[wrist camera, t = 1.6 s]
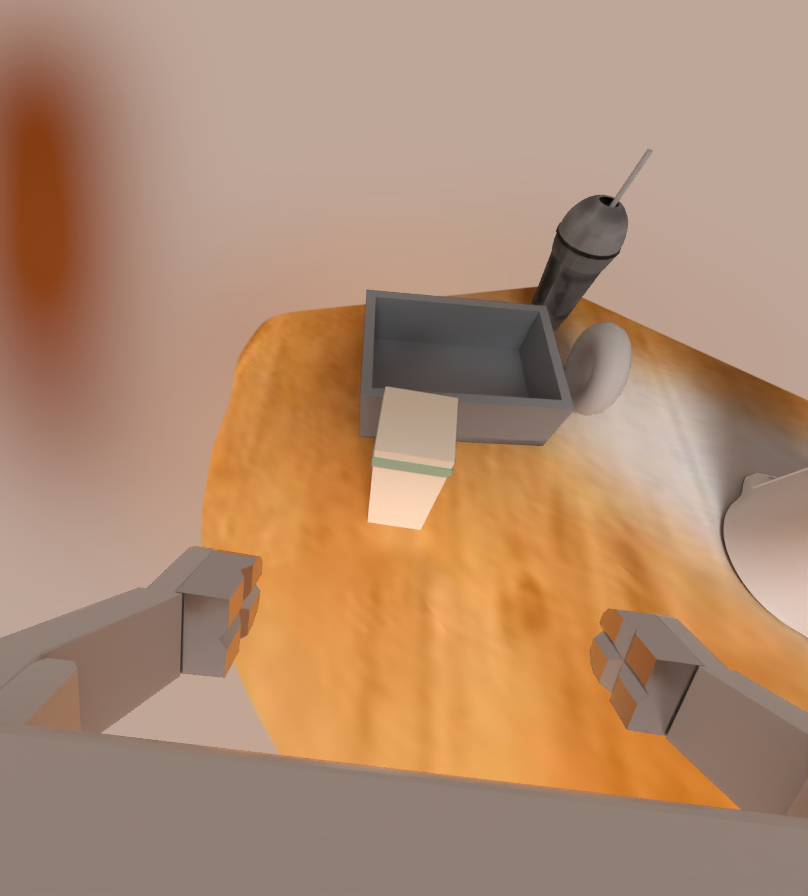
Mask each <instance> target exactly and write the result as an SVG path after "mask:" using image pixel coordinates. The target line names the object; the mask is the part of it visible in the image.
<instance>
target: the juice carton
mask: <svg viewBox="0 0 808 896" xmlns="http://www.w3.org/2000/svg"><path fill="white" fill-rule="evenodd" d="M457 409H458V398H455V397H448V396H442V395H436V394H430V393H424V392H418V391H412V390H406V389H400V388H393V387H387V386H386V387H385V393H383V399H382V405H381V410H380V416H379V422H378V427H377V433H376V438H375V444H374V450H373V455H372V464H371V466H372V467H373V471H372V481H371V491H370V502H369V512H368V522H371V523H378V524H385V525H391V526H398V527H405V528H412V529H419V530H421V528H422V526H423V524H424V522H425V520H426V518H427V516H428V514H429V512H430V510H431V508H432V506H433V504H434V502H435V500H436V498H437V496H438V494H439V492H440V490H441V488H442V486H443V484H444V482H445V480H446V478H449V477H450V475H451V473H452V471H453V465H454V463H455V445H456V427H457Z"/></svg>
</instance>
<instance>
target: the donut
mask: <svg viewBox="0 0 808 896" xmlns="http://www.w3.org/2000/svg"><path fill="white" fill-rule="evenodd" d="M631 358H632V351H631V343H630V340H629V338H628V336H627V334H626V332H625V330H623V329H622V328H621V327H620V326H618V325H617V324H615V323H612V322H602V323H597V324H594V325H592V326H591V327H589V328H588V329H586V330H585V331H584V332H583V333H582V334H581V335H580V336H579V338H578V339H577V340H576V342H575V344H574V346H573V347H572V349H571V351H570V354H569V357H568V359H567V363H566V367H565V371H564V373H565V377H566V380H567V384H568V388H569V391H570V395H571V399H572V402H573V406H574V411H575V412H577V413H580V414H582V415H594V414H598V413H601V412H603V411H604V410H606V409H607V408H608V407H610V406H611V405H612V404H613V403H614V402H615V400H616V399H617V398H618V396H619V395H620V394H621V392H622V390H623V388H624V386H625V384H626V381H627V378H628V374H629V371H630V367H631Z"/></svg>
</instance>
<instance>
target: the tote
mask: <svg viewBox="0 0 808 896" xmlns="http://www.w3.org/2000/svg"><path fill="white" fill-rule="evenodd" d="M386 386H387V387H393V388H400V389H406V390H412V391H418V392H424V393H430V394H436V395H442V396H448V397H455V398H458V409H457V427H456V441H457V442H477V443H496V444H516V445H535V446H543V445H544V444H545V442H546V441H547V440H548V439H549V438H550V437H551V436H552V434H553V433H554V432H555V431H556V430H557V429H558V428H559V427H560V425H561V424H562V423H563V422H564V421H565V420H566V419H567V417H568V416H569V415H570V414H571V413H572V412H573V411H574V406H573V402H572V399H571V395H570V391H569V388H568V384H567V380H566V377H565V373H564V369H563V366H562V362H561V358H560V354H559V351H558V347H557V343H556V340H555V336H554V332H553V329H552V325H551V321H550V318H549V314H548V310H547V307H546V306H540V305H529V304H518V303H507V302H496V301H485V300H474V299H463V298H452V297H441V296H430V295H419V294H407V293H397V292H386V291H375V290H367V292H366V308H365V325H364V342H363V359H362V375H361V392H360V429H359V436H360V437H376V433H377V427H378V422H379V416H380V410H381V405H382V399H383V393H385V387H386Z"/></svg>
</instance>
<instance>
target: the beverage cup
mask: <svg viewBox="0 0 808 896" xmlns="http://www.w3.org/2000/svg"><path fill="white" fill-rule="evenodd" d="M651 153H652V150H650V149H648V150H647V151H646V152H645V154H644V156H643V157H642V159H641V160H640V161H639V163H638V165H637V166H636V167H635V169H634V170H633V172H632V173H631V175H630V176H629V178H628V179H627V181H626V182H625V184H624V185H623V187H622V188H621V189H620V191H619V192H618V194H617V195H616V197H615V198H613V197H611V196H607V195H595V196H591V197H588V198H586V199H584V200H582V201H581V202H579V203H578V204H576V205H575V206H574V207H573V208H572V209H571V210H570V211H569V212H568V213H567V214H566V216H565V217H564V219H563V220H562V222H561V223H560V224H559V225H558V227H557V230H556V232H557V233H556V236H555V239H554V242H553V246H552V252H551V255H550V257H549V260H548V262H547V265H546V268H545V270H544V273H543V275H542V278H541V281H540V283H539V286H538V288H537V291H536V293H535V296H534V298H533V301H532V304H531V305H540V306H546V307H547V310H548V314H549V318H550V321H551V325H552V329H553V331H554V330H556V329H557V328H558V327H559V326H560V324H561V323H562V322H563V321H564V320H565V319H566V318H567V316H568V315H569V314H570V312H571V311H572V310H573V308H574V307H575V306H576V304H577V303H578V302H579V300H580V299H581V298H582V296H583V295H584V294H585V292H586V291H587V290H588V288H589V287H590V286H591V284H592V283H593V282H594V280H595V279H596V278H597V276H598V275H599V274H600V272H601V271H602V270H603V269H604V268H605V267H606V266H607V265H608V264H609V263H610V262H611V261H612V260H613V259H614V257H616V256H617V255H618V254H619V252H620V250H621V246H622V245H623V242H624V240H625V237H626V233H627V228H628V218H627V215H626V211H625V208H624V207H623V205H622V204H621V203H620V202H619V200H620V199H621V197H622V196H623V194H624V193H625V191H626V190H627V188H628V187H629V186H630V184H631V183H632V181H633V180H634V178H635V177H636V175H637V174H638V172H639V171H640V169H641V168H642V167H643V165H644V164H645V162H646V161H647V159H648V158H649V156H650V155H651Z"/></svg>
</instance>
